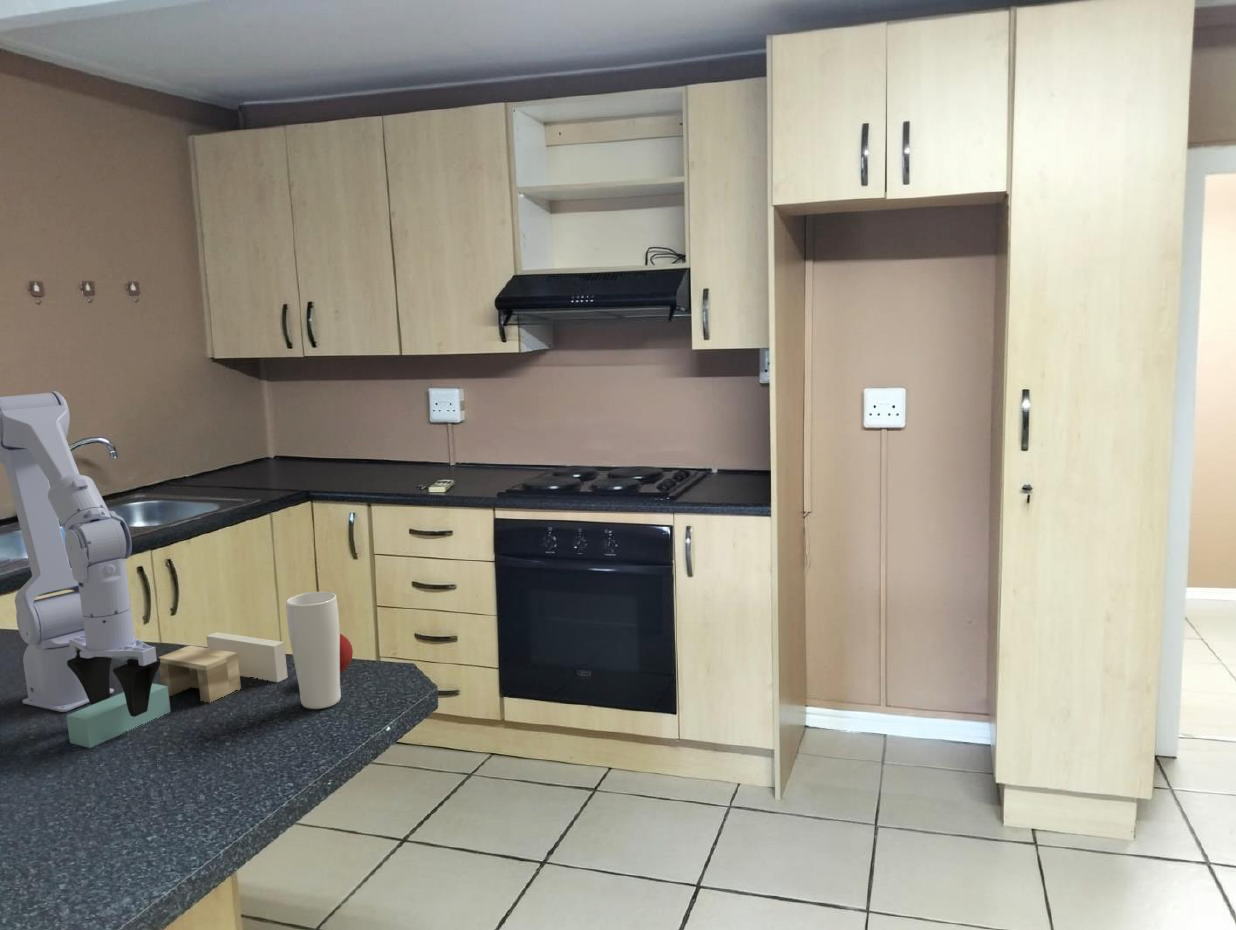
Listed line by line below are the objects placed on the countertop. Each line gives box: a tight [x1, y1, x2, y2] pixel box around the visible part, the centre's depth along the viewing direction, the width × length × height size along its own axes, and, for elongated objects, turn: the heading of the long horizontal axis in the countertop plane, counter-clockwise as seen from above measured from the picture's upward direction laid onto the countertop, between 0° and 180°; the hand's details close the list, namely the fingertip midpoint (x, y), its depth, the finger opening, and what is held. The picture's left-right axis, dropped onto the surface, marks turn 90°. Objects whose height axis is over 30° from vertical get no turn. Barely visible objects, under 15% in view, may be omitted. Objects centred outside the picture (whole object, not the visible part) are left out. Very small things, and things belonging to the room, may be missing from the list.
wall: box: [205, 631, 289, 683], centre depth 150 cm, size 14×2×6 cm, turn 63°
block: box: [157, 645, 242, 704], centre depth 143 cm, size 10×6×6 cm, turn 63°
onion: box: [340, 633, 354, 675], centre depth 146 cm, size 6×6×8 cm
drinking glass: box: [285, 591, 342, 710], centre depth 136 cm, size 7×7×15 cm
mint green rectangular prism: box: [65, 683, 172, 749], centre depth 132 cm, size 4×12×4 cm, turn 152°
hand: (119, 709), depth 132 cm, fingers open, 7 cm apart
